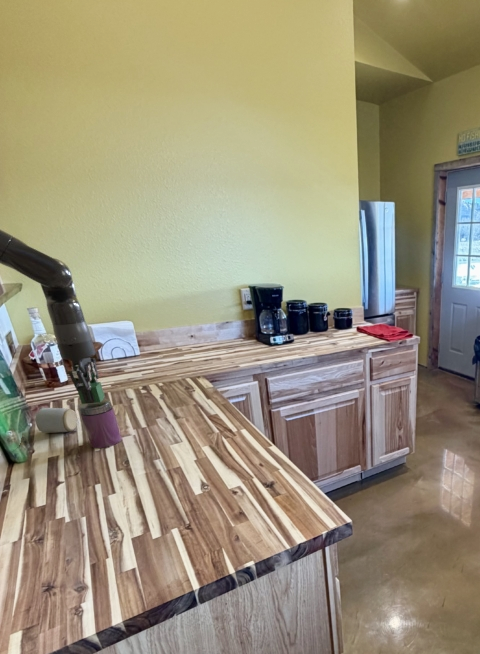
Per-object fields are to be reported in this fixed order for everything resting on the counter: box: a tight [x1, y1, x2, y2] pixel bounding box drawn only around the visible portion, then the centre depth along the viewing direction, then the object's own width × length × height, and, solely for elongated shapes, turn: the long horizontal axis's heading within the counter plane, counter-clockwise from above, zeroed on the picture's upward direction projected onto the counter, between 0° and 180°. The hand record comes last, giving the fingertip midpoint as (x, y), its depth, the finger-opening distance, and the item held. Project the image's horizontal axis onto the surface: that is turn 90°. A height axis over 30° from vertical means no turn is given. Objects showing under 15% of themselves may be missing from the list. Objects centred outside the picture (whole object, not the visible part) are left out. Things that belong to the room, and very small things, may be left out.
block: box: [77, 381, 106, 404], centre depth 116 cm, size 4×4×4 cm
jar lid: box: [78, 398, 113, 415], centre depth 117 cm, size 8×8×2 cm
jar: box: [79, 406, 123, 449], centre depth 119 cm, size 8×8×12 cm
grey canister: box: [35, 407, 80, 434], centre depth 128 cm, size 11×8×8 cm
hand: (93, 399), depth 116 cm, fingers closed on block, 4 cm apart
